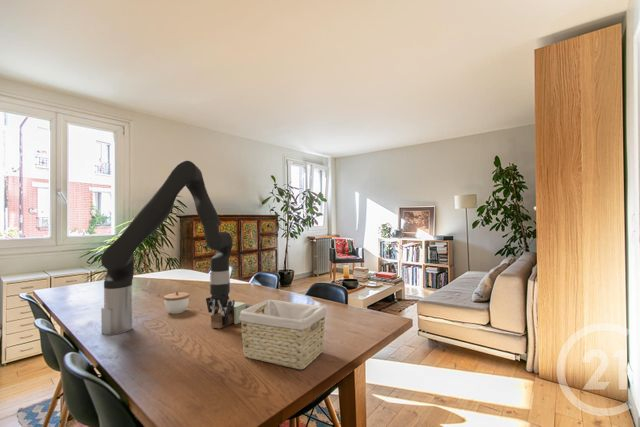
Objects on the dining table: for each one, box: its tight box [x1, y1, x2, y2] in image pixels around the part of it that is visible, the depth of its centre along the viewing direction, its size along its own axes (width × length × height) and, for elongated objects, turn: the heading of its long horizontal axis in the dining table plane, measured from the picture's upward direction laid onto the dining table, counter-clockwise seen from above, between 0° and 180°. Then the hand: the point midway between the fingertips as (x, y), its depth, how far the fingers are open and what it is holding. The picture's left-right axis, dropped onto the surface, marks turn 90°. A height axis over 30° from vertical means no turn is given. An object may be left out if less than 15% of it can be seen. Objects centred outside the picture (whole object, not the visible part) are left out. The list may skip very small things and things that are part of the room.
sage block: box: [223, 301, 247, 325], centre depth 128 cm, size 6×8×7 cm
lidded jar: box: [163, 291, 190, 315], centre depth 142 cm, size 11×11×9 cm
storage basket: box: [239, 298, 328, 370], centre depth 97 cm, size 24×16×15 cm
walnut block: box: [210, 309, 234, 329], centre depth 125 cm, size 12×4×4 cm, turn 152°
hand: (220, 324), depth 122 cm, fingers closed on walnut block, 4 cm apart
